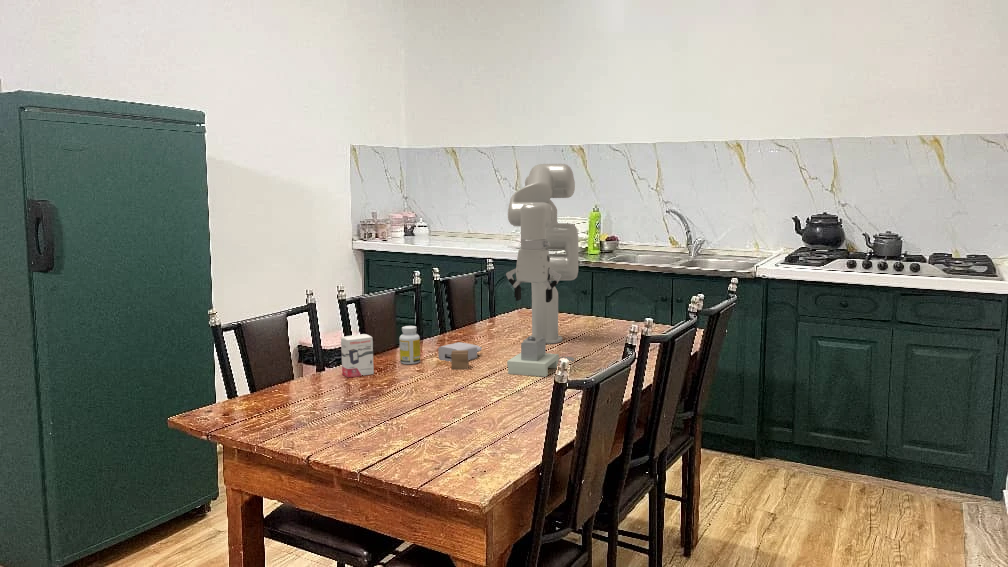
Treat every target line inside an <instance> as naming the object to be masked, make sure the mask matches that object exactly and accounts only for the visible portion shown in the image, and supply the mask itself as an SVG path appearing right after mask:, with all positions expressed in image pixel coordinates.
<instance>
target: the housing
mask: <svg viewBox="0 0 1008 567" xmlns="http://www.w3.org/2000/svg"><path fill="white" fill-rule="evenodd" d="M529 336H530V337H529ZM529 336H528V337H527V338H525V339H523V340H522V342H521V343H520V347H521V349H520V353H521V360H528V361H538V360H539V359H541V358H542V357H543V356H545V355H546V353H547V352H546V350H547V349H546V348H547V347H546V338H544V336H533V335H532V334H531V335H529Z"/></svg>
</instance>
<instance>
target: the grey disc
mask: <svg viewBox="0 0 1008 567" xmlns="http://www.w3.org/2000/svg"><path fill="white" fill-rule="evenodd" d="M563 357H565V358H567V359H568V360H569V361H570V360H571V361H573V362H575V358H574V357H573V356H560V357H559V359H560V358H563ZM559 359H558V360H559Z"/></svg>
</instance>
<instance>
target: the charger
mask: <svg viewBox="0 0 1008 567" xmlns="http://www.w3.org/2000/svg"><path fill="white" fill-rule="evenodd" d="M482 348H483V347H482V346H479V345H478V344H477V345H476V344H472V343H466V342H461V341H460V342H459V341H458V342H454V343H450V344H446V345H441V346H439V347H438V348H437V351H438V352H437V353H438V354H437V355H438V359H439V361H444V360H445V362H449V361H450V363H451V353H452V351H457V350H468V361H472V360H475V359H477V358H478V353H479V352H481V351H482Z"/></svg>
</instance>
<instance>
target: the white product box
mask: <svg viewBox="0 0 1008 567" xmlns="http://www.w3.org/2000/svg"><path fill="white" fill-rule="evenodd" d="M340 345H341V347H340V349H341V350H340V352H341V368H342V369H341V371H342V373H341V374H342V376H344V377H346V378H348V379H349V377H350V378H355V377H360V376H361V377H362V375H363V376H367V375H368V376H369V375H374V374H375V372H374V349H373V348H374V341H373V336H371V335H369V334H367V333H362V334H354V335H346V336H342V337H340Z"/></svg>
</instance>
